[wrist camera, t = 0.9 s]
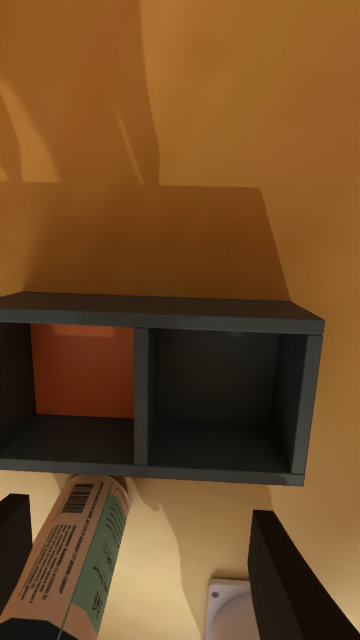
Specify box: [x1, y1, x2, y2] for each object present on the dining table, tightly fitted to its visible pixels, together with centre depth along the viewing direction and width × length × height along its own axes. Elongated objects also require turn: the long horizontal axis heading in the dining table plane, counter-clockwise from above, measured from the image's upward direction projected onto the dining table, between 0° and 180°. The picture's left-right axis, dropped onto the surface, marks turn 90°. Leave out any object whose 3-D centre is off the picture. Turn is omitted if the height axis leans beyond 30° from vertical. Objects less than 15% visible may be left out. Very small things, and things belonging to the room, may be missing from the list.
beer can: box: [0, 474, 130, 640], centre depth 17 cm, size 5×5×12 cm
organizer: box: [0, 292, 325, 487], centre depth 18 cm, size 8×16×5 cm, turn 88°
